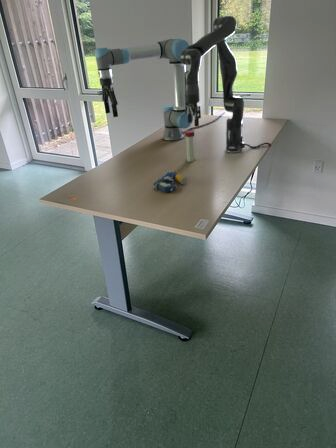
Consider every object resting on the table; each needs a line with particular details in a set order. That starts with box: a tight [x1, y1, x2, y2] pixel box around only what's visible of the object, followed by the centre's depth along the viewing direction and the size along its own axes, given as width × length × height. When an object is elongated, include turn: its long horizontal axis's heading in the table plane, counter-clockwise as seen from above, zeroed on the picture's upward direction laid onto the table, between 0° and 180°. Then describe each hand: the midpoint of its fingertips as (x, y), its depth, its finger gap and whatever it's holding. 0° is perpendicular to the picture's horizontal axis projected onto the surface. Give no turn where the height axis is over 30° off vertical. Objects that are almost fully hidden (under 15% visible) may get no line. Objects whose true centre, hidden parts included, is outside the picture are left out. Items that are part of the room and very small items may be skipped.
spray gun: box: [152, 170, 188, 193], centre depth 177 cm, size 21×4×15 cm
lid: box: [184, 129, 195, 138], centre depth 198 cm, size 5×6×2 cm
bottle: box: [185, 135, 195, 163], centre depth 202 cm, size 5×5×18 cm
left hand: (111, 114), depth 206 cm, fingers open, 13 cm apart
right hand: (193, 124), depth 180 cm, fingers open, 8 cm apart
